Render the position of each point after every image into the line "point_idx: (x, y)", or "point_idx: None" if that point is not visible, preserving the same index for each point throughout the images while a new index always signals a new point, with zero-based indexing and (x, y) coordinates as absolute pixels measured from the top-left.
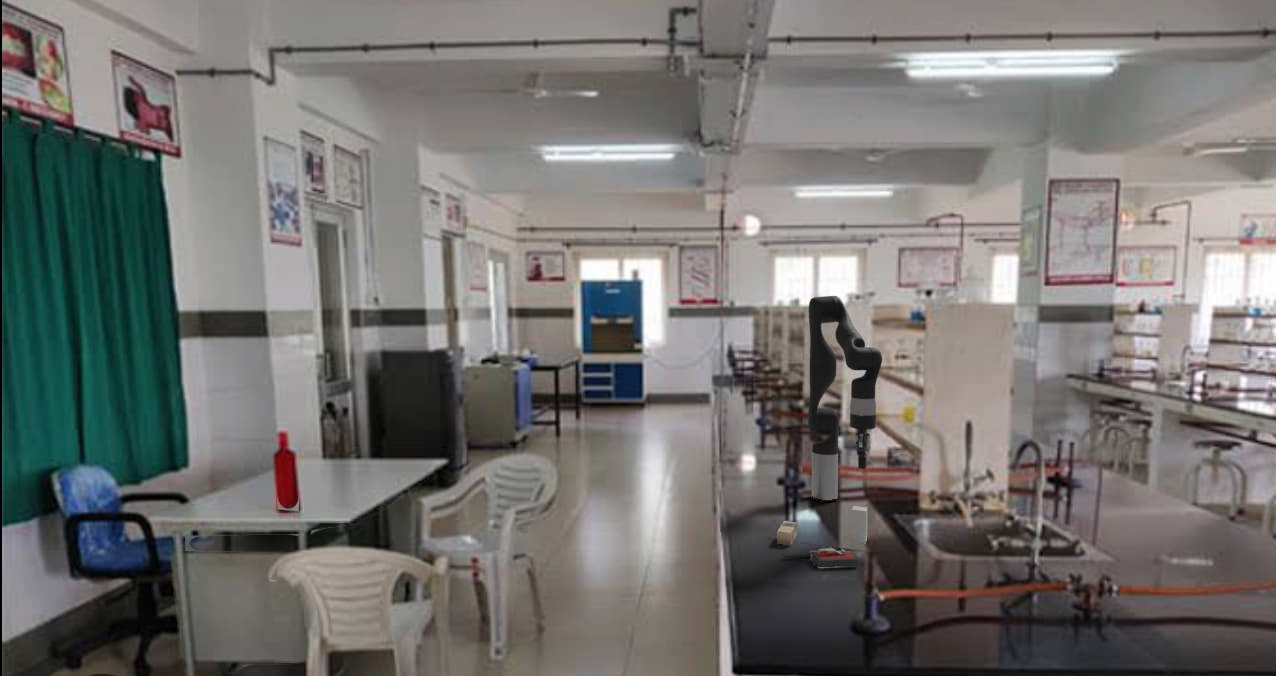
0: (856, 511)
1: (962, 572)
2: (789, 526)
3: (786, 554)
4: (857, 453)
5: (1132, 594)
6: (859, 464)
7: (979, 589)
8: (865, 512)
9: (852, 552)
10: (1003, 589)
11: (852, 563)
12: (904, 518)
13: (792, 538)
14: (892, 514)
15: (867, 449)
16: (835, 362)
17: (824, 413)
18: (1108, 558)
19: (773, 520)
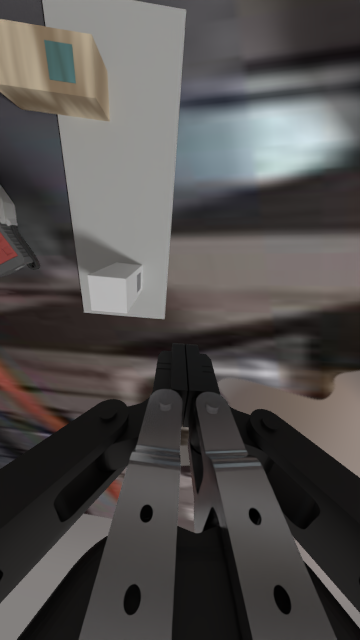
0: (90, 286)
1: (77, 393)
2: (44, 68)
3: None
4: (75, 420)
5: None
6: (158, 359)
7: (34, 401)
8: (92, 307)
9: (9, 266)
10: (49, 418)
11: None
12: (282, 349)
13: (36, 104)
14: (304, 333)
15: (271, 472)
16: None
17: None
18: (181, 485)
19: (228, 6)
